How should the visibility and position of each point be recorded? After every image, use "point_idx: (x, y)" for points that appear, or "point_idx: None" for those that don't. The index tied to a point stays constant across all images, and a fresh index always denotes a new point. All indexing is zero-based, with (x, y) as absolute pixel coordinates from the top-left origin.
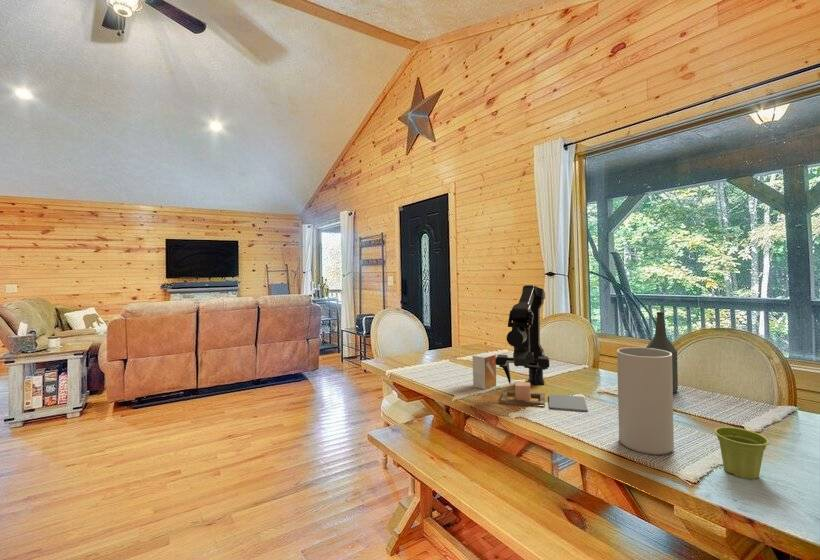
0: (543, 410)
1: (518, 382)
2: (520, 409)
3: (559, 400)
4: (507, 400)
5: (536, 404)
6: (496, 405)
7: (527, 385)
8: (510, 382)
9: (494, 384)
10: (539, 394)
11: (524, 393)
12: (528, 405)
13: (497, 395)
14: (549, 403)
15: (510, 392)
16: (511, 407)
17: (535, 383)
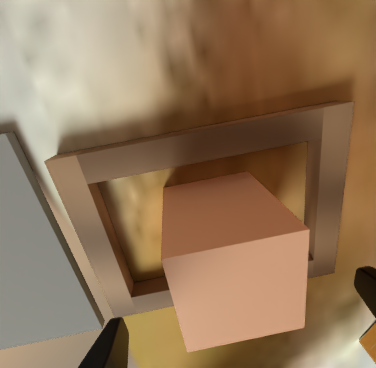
0: (34, 78)
1: (284, 319)
2: (190, 25)
3: (11, 272)
4: (305, 112)
5: (105, 147)
6: (364, 42)
7: (189, 278)
8: (360, 282)
9: (372, 338)
10: (137, 298)
11: (203, 208)
12: (159, 135)
13: (354, 227)
14: (38, 202)
15: None
16: (259, 44)
17: (114, 330)
